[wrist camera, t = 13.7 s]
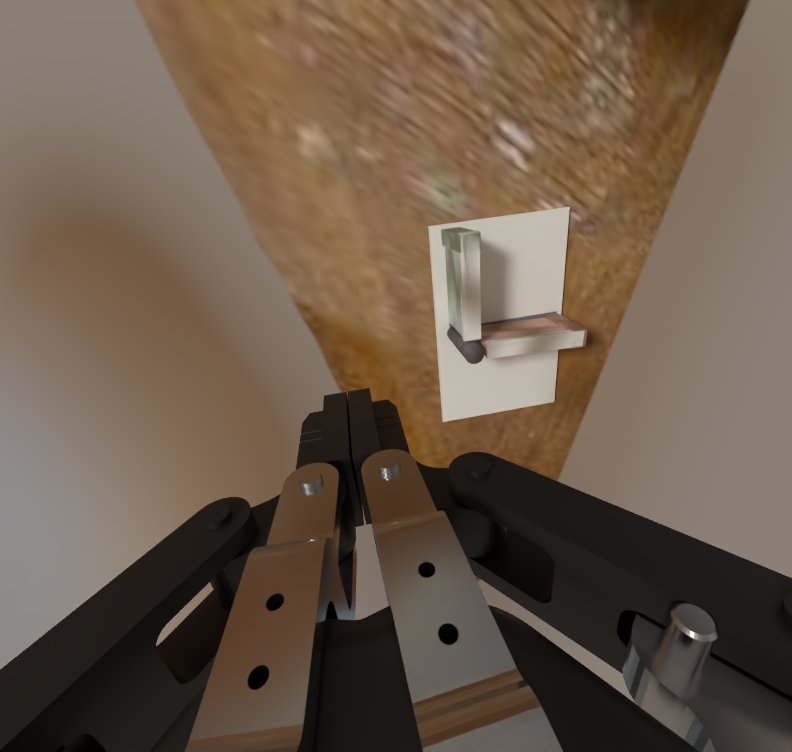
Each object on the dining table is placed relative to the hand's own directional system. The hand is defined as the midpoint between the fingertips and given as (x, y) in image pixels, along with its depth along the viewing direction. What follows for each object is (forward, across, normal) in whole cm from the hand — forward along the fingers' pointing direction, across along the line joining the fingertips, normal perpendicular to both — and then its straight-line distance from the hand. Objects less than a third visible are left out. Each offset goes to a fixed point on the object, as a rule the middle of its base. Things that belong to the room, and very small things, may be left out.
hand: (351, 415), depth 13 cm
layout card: (+27, -16, +8) cm, 32 cm away
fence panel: (+26, -17, +8) cm, 32 cm away
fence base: (+27, -11, +3) cm, 29 cm away
